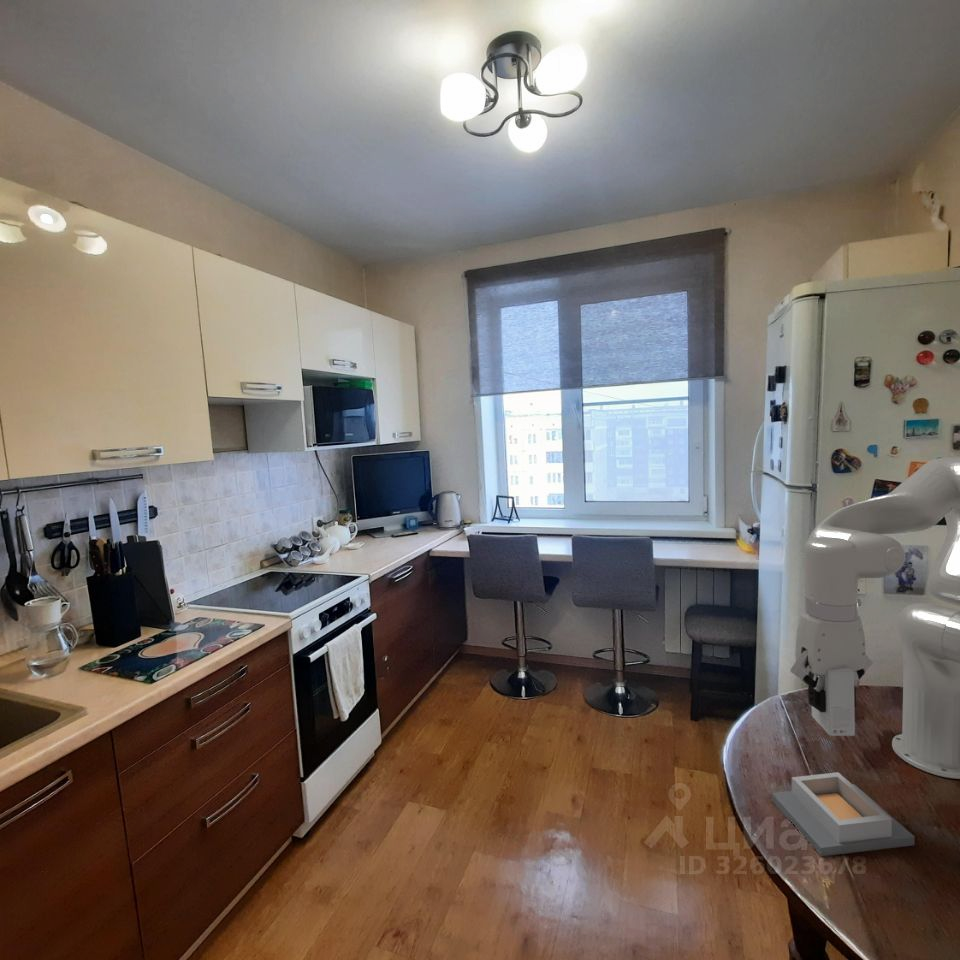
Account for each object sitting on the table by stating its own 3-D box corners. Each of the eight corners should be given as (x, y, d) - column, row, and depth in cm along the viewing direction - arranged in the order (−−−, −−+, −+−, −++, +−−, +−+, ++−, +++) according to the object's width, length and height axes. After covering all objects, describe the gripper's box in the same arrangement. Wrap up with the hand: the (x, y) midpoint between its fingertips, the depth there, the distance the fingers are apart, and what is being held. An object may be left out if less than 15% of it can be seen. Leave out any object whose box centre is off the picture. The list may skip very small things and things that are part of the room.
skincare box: (856, 736, 84) (855, 671, 83) (829, 736, 85) (828, 671, 83) (835, 715, 90) (834, 654, 89) (810, 715, 91) (809, 654, 89)
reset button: (836, 800, 89) (836, 792, 89) (874, 836, 81) (874, 828, 81) (805, 804, 89) (805, 796, 88) (840, 840, 81) (840, 832, 80)
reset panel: (853, 791, 91) (853, 768, 91) (914, 845, 79) (915, 819, 79) (771, 800, 90) (771, 777, 90) (820, 856, 78) (820, 830, 78)
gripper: (857, 595, 90) (858, 688, 92) (770, 606, 88) (772, 700, 90) (895, 610, 82) (895, 711, 84) (801, 622, 81) (803, 725, 83)
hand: (831, 704), depth 87 cm, fingers closed on skincare box, 5 cm apart
